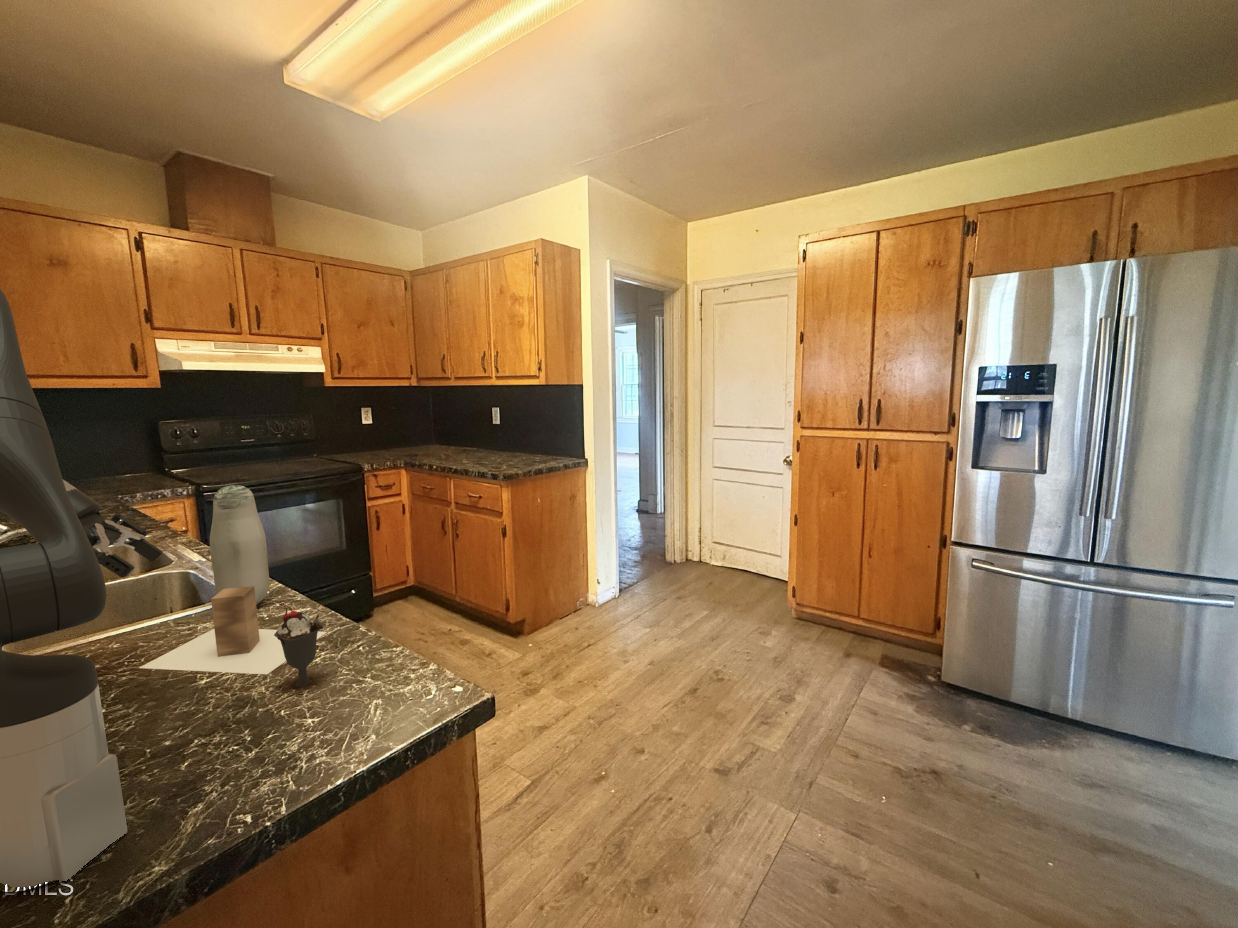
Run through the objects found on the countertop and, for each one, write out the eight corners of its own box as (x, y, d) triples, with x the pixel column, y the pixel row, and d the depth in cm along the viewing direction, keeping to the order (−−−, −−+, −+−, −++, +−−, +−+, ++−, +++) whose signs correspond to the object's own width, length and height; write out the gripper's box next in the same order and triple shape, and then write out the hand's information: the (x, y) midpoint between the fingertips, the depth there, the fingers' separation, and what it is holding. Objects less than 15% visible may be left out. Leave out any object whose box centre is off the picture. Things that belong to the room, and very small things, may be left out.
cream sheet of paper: (327, 635, 105) (327, 631, 105) (267, 678, 89) (266, 674, 89) (216, 630, 107) (216, 627, 107) (139, 672, 92) (138, 667, 92)
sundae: (270, 692, 85) (261, 604, 83) (311, 672, 91) (303, 590, 89) (295, 703, 82) (286, 611, 80) (335, 682, 88) (328, 596, 86)
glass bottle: (214, 606, 120) (201, 485, 116) (268, 594, 127) (256, 480, 123) (219, 620, 113) (205, 491, 109) (276, 606, 119) (264, 485, 116)
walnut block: (217, 656, 95) (211, 598, 94) (229, 644, 100) (223, 588, 99) (249, 652, 97) (243, 595, 95) (259, 640, 101) (254, 586, 100)
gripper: (36, 496, 81) (136, 561, 86) (98, 481, 94) (182, 538, 99) (-2, 532, 80) (101, 596, 85) (66, 511, 94) (151, 567, 98)
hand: (144, 564), depth 92 cm, fingers open, 8 cm apart
